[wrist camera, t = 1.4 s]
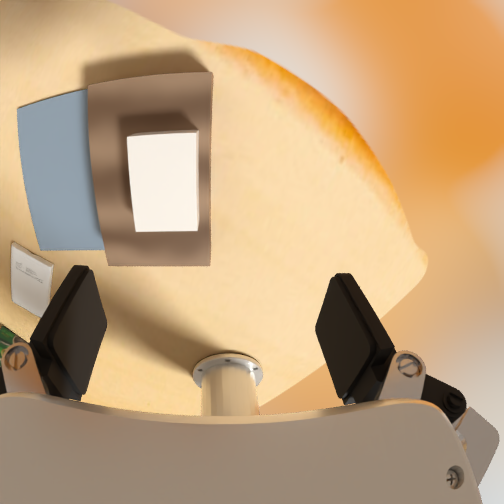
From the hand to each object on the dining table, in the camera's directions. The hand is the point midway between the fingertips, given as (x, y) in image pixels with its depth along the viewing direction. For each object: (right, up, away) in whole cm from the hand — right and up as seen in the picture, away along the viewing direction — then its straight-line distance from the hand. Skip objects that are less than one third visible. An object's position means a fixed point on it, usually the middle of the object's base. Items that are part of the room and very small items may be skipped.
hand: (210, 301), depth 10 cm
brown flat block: (-9, +11, +18) cm, 23 cm away
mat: (-21, +11, +16) cm, 29 cm away
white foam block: (-6, +9, +15) cm, 18 cm away
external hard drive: (-34, -3, +24) cm, 41 cm away
